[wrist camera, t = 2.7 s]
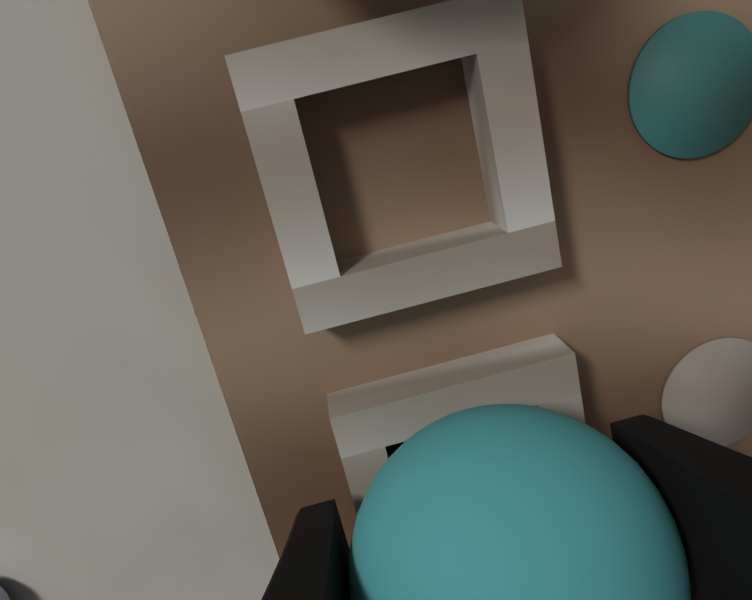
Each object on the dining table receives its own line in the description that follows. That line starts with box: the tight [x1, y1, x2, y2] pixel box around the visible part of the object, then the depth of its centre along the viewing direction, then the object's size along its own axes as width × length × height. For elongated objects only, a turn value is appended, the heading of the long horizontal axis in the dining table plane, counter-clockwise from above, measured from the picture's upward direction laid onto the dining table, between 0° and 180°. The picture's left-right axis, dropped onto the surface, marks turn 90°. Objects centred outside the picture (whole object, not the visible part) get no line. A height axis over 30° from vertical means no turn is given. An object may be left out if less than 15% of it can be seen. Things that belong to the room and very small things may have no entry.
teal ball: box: [349, 404, 691, 600], centre depth 10 cm, size 5×5×5 cm
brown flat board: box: [88, 0, 752, 558], centre depth 11 cm, size 19×11×2 cm, turn 13°
